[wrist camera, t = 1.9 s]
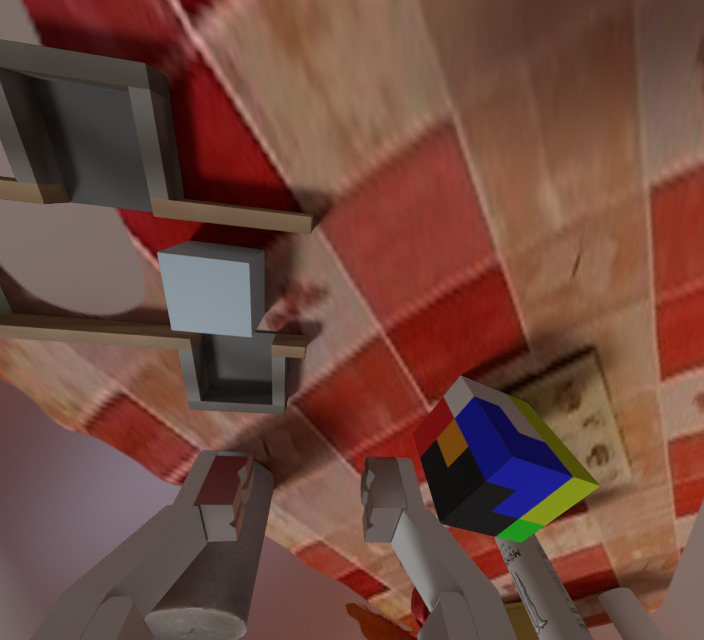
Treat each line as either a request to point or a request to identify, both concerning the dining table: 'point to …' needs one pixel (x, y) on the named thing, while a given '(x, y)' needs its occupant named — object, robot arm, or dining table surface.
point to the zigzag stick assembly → (128, 206)
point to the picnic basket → (520, 621)
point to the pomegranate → (419, 608)
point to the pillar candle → (218, 579)
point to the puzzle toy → (496, 464)
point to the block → (214, 287)
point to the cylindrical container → (629, 615)
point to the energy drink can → (542, 591)
